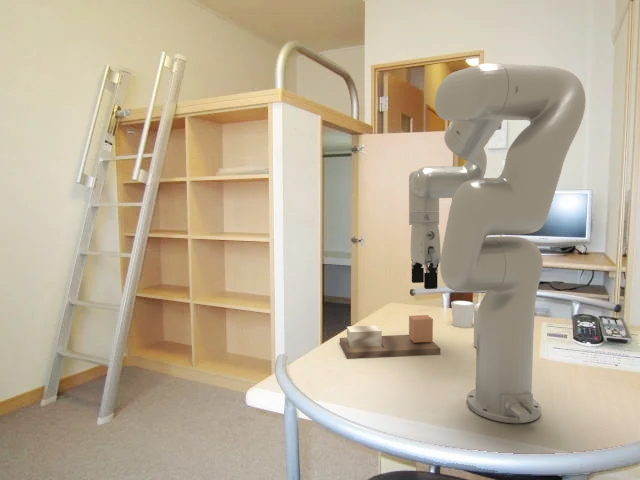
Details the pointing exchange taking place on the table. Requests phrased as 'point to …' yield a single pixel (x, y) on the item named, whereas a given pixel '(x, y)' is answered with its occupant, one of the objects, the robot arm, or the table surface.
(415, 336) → the stub
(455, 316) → the white cup
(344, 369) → the table surface
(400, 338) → the ticket board
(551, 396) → the table surface
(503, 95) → the robot arm
